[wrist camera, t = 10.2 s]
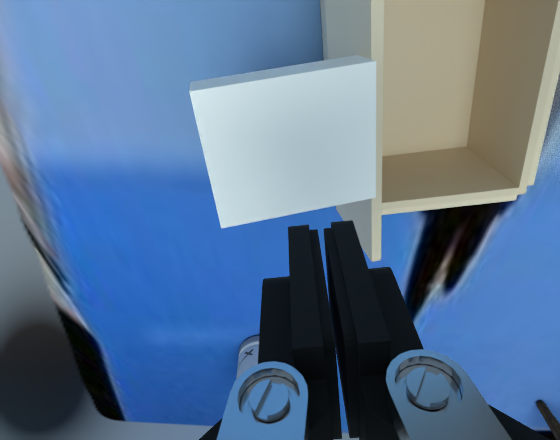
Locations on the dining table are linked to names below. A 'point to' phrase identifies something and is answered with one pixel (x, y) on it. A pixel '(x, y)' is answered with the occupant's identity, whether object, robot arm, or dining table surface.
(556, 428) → the decorative torch
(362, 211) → the top flap
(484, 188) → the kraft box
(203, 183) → the dining table surface
